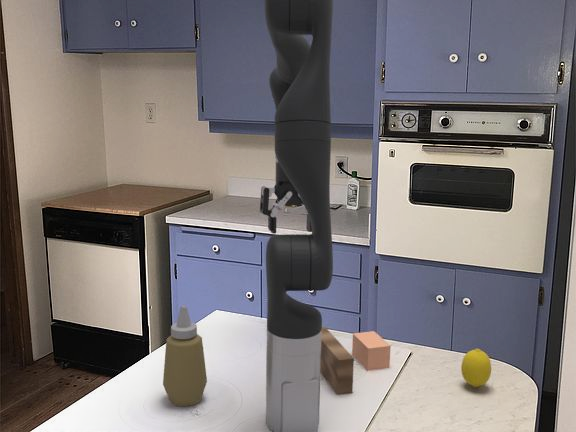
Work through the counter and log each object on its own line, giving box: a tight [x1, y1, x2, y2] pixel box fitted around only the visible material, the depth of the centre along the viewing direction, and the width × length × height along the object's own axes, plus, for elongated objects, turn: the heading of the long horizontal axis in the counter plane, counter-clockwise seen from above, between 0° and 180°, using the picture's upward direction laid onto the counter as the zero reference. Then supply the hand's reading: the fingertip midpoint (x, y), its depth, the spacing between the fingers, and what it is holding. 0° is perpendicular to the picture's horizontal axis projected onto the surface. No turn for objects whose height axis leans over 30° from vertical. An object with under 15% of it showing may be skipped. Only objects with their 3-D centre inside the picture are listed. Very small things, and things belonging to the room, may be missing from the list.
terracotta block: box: [351, 330, 391, 372], centre depth 129 cm, size 8×5×5 cm, turn 17°
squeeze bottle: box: [162, 305, 208, 407], centre depth 111 cm, size 8×8×18 cm
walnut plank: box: [320, 326, 355, 395], centre depth 122 cm, size 16×3×7 cm, turn 16°
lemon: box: [460, 348, 492, 388], centre depth 118 cm, size 6×6×8 cm
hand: (291, 232), depth 137 cm, fingers open, 8 cm apart
